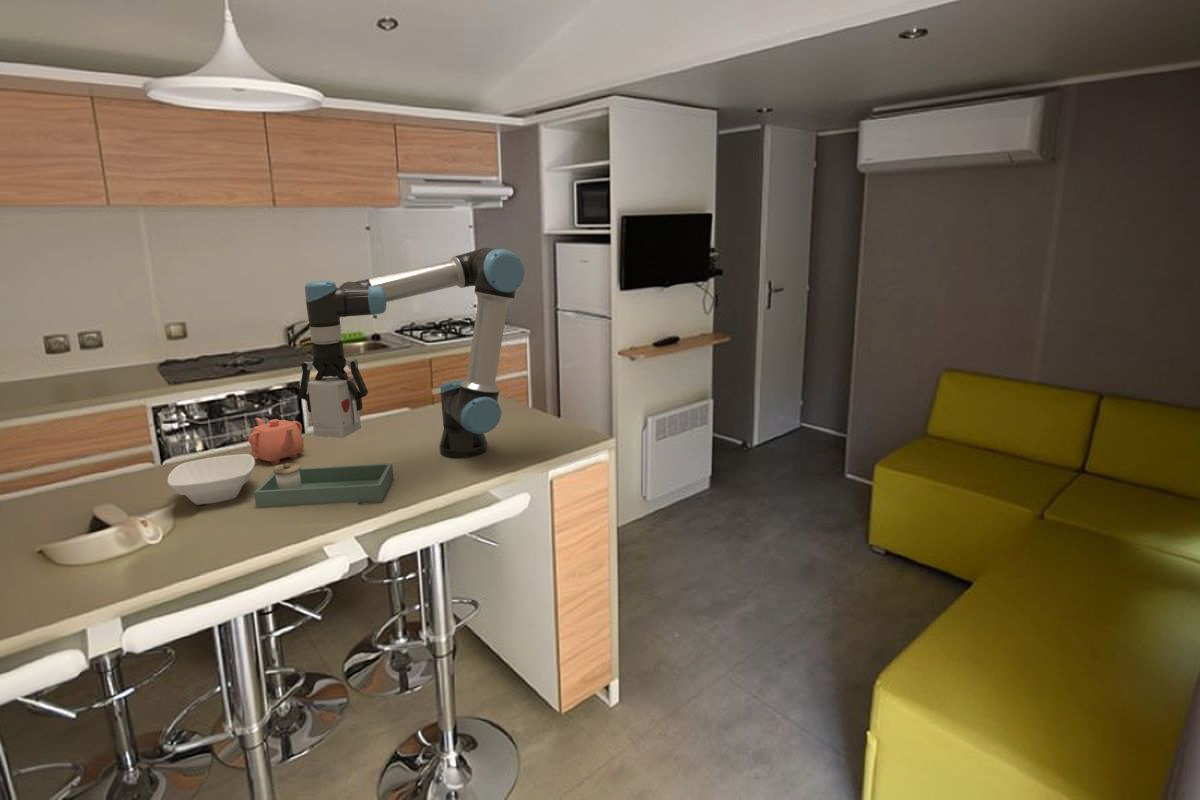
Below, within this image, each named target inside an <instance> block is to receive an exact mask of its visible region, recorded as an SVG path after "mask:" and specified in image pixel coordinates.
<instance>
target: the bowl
mask: <svg viewBox="0 0 1200 800" xmlns="http://www.w3.org/2000/svg"><path fill="white" fill-rule="evenodd" d="M255 465H256V460H255V458H254V456H252V455H251V453H250V454H248V453H243V454H241V453H239V454H228V455H221V456H213V457H207V458H201V459H196V460H191V461H186V462H182V463H180V464H178V465H177V466H175V467H174V468H173V469H172V470H171V471H170V472H169V475H168V476H167V485H168V486H169V487H170V488H171V489H172V490H173V491H174V492H175V493H177V494H178V495H180V496H182V495H183V496H186V497H187V498H188V499H189V500H190V501H191V502H192V503H194V504H195V505H207V504H215V503H221V502H225V501H229V500H234V499H236V498H237V497H238V496H239V494H240V493H241V490H242V488H243V485H245V484H246V483H248V481H249V480H250V478H251V477H252V476H251V475H252V473H253V471H254V468H255Z"/></svg>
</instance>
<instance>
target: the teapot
mask: <svg viewBox="0 0 1200 800" xmlns="http://www.w3.org/2000/svg"><path fill="white" fill-rule="evenodd" d="M254 419H255V421H256V422H257V424H258V425H257V426H256V425H255V426H254V427H252V430H251V431H252V432H250V434H249V435H248V437H247V439H248V441H247V442H248V443H249V444H250V446H251V452H250V455H251V456H253V458H254V457H256V458H258V459H260V460H261V461H265V462H266V461H267V462H270V464H271V465H278V464H280V463H281V461H280V460H282V459H285V458H288V457H289V459H297V458H299V457H300V456H299V455H298V454H299V453H302V452H303V451H304V449H305V447H304V446H305V444H304V437H303V436H302V430H303V426H302V425H303V424H301V422H300V421H298V420H293V421H290V420H285V419H280V420H279V419H278V418H275V419H274V418H273V419H269V420H268V422H267V423H265V422H264V420H263V419H262V418H260V417H256V418H254Z"/></svg>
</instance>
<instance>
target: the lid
mask: <svg viewBox="0 0 1200 800" xmlns="http://www.w3.org/2000/svg"><path fill="white" fill-rule="evenodd" d="M301 468H302V467H301V464H300V463H296V462H294V463H293V462H290V463H289V462H287V463H283V464H280V465H277V466H275V467H274V468H273V469H272V473H274V474H278V475H284V474H290V473H294V472H296V471H298V470H300V469H301Z"/></svg>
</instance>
